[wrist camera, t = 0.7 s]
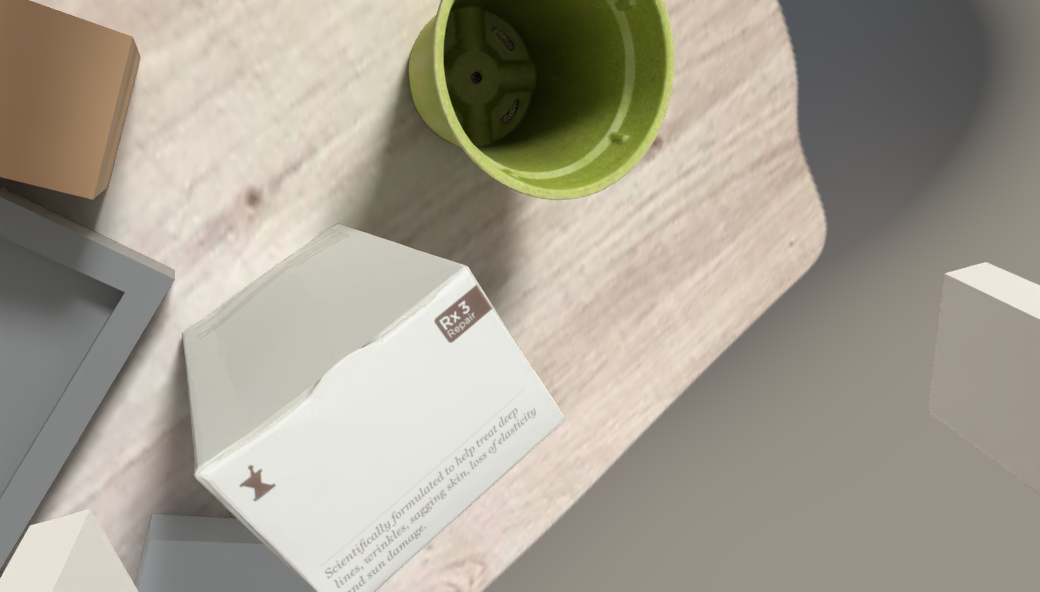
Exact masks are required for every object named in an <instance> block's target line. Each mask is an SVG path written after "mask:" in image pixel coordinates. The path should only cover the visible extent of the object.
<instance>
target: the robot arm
mask: <svg viewBox="0 0 1040 592" xmlns="http://www.w3.org/2000/svg"><path fill="white" fill-rule="evenodd" d="M928 413H930V414H931V415H932V416H934V417H935V418H936V419H938V420H939V421H941V422H942V423H943V424H945V425H946V426H947V427H949V428H950V429H951V430H953V431H954V432H956V433H957V434H958V435H960V436H961V437H962V438H964V439H965V440H967V441H968V442H969V443H971V444H972V445H973V446H975V447H976V448H977V449H979V450H980V451H982V452H983V453H984V454H986V455H987V456H988V457H990V458H991V459H993V460H994V461H995V462H997V463H998V464H999V465H1001V466H1002V467H1004V468H1005V469H1006V470H1008V471H1009V472H1010V473H1012V474H1013V475H1014V476H1016V477H1017V478H1019V479H1020V480H1021V481H1023V482H1024V483H1026V484H1027V485H1028V486H1029V487H1031V488H1032V489H1034V490H1035V491H1036V492H1038V493H1039V494H1040V285H1037V284H1035V283H1033V282H1030V281H1028V280H1026V279H1023V278H1021V277H1019V276H1016V275H1014V274H1012V273H1010V272H1007V271H1005V270H1003V269H1000V268H998V267H996V266H993V265H991V264H989V263H987V262H985V263H981V264H978V265H974V266H970V267H967V268H963V269H959V270H956V271H952V272H949V273H945V276H944V284H943V292H942V300H941V308H940V317H939V324H938V333H937V341H936V349H935V357H934V365H933V373H932V382H931V389H930V398H929V406H928ZM0 592H138V590H137V588H136V587H135V585H134V583H133V581H132V580H131V578H130V576H129V574H128V573H127V571H126V569H125V568H124V566H123V564H122V562H121V561H120V559H119V557H118V556H117V554H116V552H115V550H114V549H113V547H112V545H111V543H110V542H109V540H108V538H107V537H106V535H105V533H104V531H103V530H102V528H101V526H100V524H99V523H98V521H97V519H96V518H95V516H94V514H93V512H92V511H91V509H88V510H84V511H81V512H77V513H74V514H70V515H66V516H63V517H59V518H55V519H52V520H48V521H45V522H41V523H37V524H34V525H30V526H29V528H28V530H27V532H26V533H25V535H24V537H23V539H22V541H21V542H20V544H19V546H18V548H17V549H16V551H15V553H14V555H13V557H12V558H11V560H10V562H9V564H8V565H7V567H6V569H5V571H4V573H3V574H2V576H1V578H0Z"/></svg>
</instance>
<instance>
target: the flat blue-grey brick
mask: <svg viewBox="0 0 1040 592" xmlns="http://www.w3.org/2000/svg"><path fill="white" fill-rule="evenodd" d="M134 585H135V587H136V588H137V590H138V592H315V591H314V590H313V589H312V588H311V587H310V586H308V585H307V584H306V583H305V582H304V581H303V580H302V579H301V578H300V577H299V576H298V575H297V574H296V573H294V572H293V571H292V570H291V569H290V568H289V567H288V566H287V565H286V564H285V563H284V562H283V561H282V560H281V559H279V558H278V557H277V556H276V555H275V554H274V553H273V552H272V551H271V550H270V549H269V548H268V547H267V546H266V545H265V544H264V543H263V542H261V541H260V540H259V539H258V538H257V537H256V536H255V535H254V534H253V533H252V532H251V531H250V530H249V529H248V528H247V527H246V526H244V525H243V524H242V523H241V522H240V521H239V520H238V519H237V518H223V517H204V516H184V515H165V514H152V515H151V519H150V523H149V527H148V531H147V535H146V539H145V543H144V547H143V551H142V555H141V559H140V563H139V567H138V571H137V575H136V579H135V583H134Z"/></svg>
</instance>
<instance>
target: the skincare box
mask: <svg viewBox="0 0 1040 592" xmlns="http://www.w3.org/2000/svg"><path fill="white" fill-rule="evenodd" d="M182 340H183V348H184V357H185V366H186V376H187V385H188V395H189V408H190V416H191V426H192V436H193V446H194V460H195V467H194V477H195V478H196V480H197V481H198V482H199V483H200V484H202V485H203V486H204V487H205V488H206V489H207V490H208V491H209V492H210V493H211V494H212V495H214V496H215V497H216V498H217V499H218V500H219V501H220V502H221V503H222V504H223V505H224V506H225V507H226V508H227V509H228V510H229V511H230V512H231V513H232V514H233V515H234V516H235V517H236V518H237V519H238V520H239V521H240V522H241V523H242V524H243V525H244V526H246V527H247V528H248V529H249V530H250V531H251V532H252V533H253V534H254V535H255V536H256V537H257V538H258V539H259V540H260V541H261V542H263V543H264V544H265V545H266V546H267V547H268V548H269V549H270V550H271V551H272V552H273V553H274V554H275V555H276V556H277V557H278V558H279V559H281V560H282V561H283V562H284V563H285V564H286V565H287V566H288V567H289V568H290V569H291V570H292V571H293V572H294V573H296V574H297V575H298V576H299V577H300V578H301V579H302V580H303V581H304V582H305V583H306V584H307V585H308V586H310V587H311V588H312V589H313V590H314V591H315V592H375V591H376V590H377V589H379V588H380V587H381V586H382V585H383V584H384V583H385V582H386V581H387V580H388V579H390V578H391V577H392V576H393V575H394V574H395V573H396V572H397V571H398V570H399V569H400V568H402V567H403V566H404V565H405V564H406V563H407V562H408V561H409V560H410V559H411V558H413V557H414V556H415V555H416V554H417V553H418V552H419V551H420V550H422V549H423V548H424V547H425V546H426V545H427V544H428V543H429V542H430V541H432V540H433V539H434V538H435V537H436V536H437V535H438V534H439V533H440V532H441V531H442V530H444V529H445V528H446V527H447V526H448V525H449V524H450V523H452V522H453V521H454V520H455V519H456V518H457V517H458V516H459V515H461V514H462V513H463V512H464V511H465V510H466V509H467V508H468V507H469V506H471V505H472V504H473V503H474V502H475V501H476V500H477V499H478V498H479V497H481V496H482V495H483V494H484V493H485V492H486V491H487V490H488V489H489V488H491V487H492V486H493V485H494V484H495V483H496V482H497V481H498V480H499V479H500V478H502V477H503V476H504V475H505V474H506V473H507V472H508V471H509V470H510V469H512V468H513V467H514V466H515V465H516V464H517V463H518V462H519V461H520V460H522V459H523V458H524V457H525V456H526V455H527V454H528V453H529V452H530V451H532V450H533V449H534V448H535V447H536V446H537V445H538V444H539V443H540V442H542V441H543V440H544V439H545V438H546V437H547V436H548V435H549V434H551V433H552V432H553V431H554V430H555V429H556V428H557V427H558V426H559V425H561V424H562V423H563V422H564V421H565V417H564V415H563V414H562V412H561V411H560V409H559V408H558V406H557V404H556V403H555V401H554V400H553V398H552V397H551V395H550V394H549V392H548V391H547V389H546V388H545V386H544V385H543V383H542V381H541V380H540V378H539V377H538V376H537V374H536V373H535V371H534V370H533V368H532V367H531V365H530V364H529V362H528V360H527V359H526V357H525V356H524V354H523V353H522V351H521V349H520V348H519V346H518V345H517V343H516V342H515V340H514V339H513V337H512V335H511V334H510V332H509V331H508V329H507V328H506V326H505V324H504V323H503V321H502V320H501V318H500V316H499V315H498V313H497V312H496V310H495V309H494V307H493V305H492V304H491V302H490V301H489V299H488V297H487V296H486V294H485V293H484V291H483V290H482V288H481V286H480V285H479V283H478V282H477V280H476V278H475V277H474V275H473V274H472V272H471V270H470V269H469V267H467V266H466V265H463V264H460V263H456V262H453V261H450V260H447V259H444V258H441V257H438V256H435V255H432V254H428V253H425V252H422V251H419V250H416V249H413V248H410V247H407V246H404V245H402V244H399V243H396V242H393V241H390V240H387V239H384V238H380V237H377V236H374V235H371V234H369V233H365V232H363V231H359V230H356V229H353V228H350V227H347V226H344V225H342V224H339V223H338V224H336V225H335V226H333V227H331V228H329V229H328V230H326V231H325V232H323V233H322V234H321V235H319V236H318V237H316V238H315V239H313V240H312V241H310V242H309V243H308V244H306V245H305V246H303V247H302V248H300V249H299V250H298V251H296V252H295V253H293V254H292V255H290V256H289V257H287V258H286V259H284V260H283V261H282V262H280V263H279V264H277V265H276V266H274V267H273V268H272V269H270V270H269V271H268V272H266V273H265V274H263V275H262V276H261V277H259V278H258V279H256V280H255V281H253V282H252V283H250V284H249V285H248V286H246V287H245V288H243V289H242V290H241V291H239V292H238V293H236V294H235V295H234V296H232V297H231V298H230V299H229V300H227V301H226V302H225V303H223V304H222V305H221V306H220V307H219V308H217V309H216V310H215V311H214V312H212V313H211V314H210V315H208V316H207V317H205V318H204V319H202V320H201V321H199V322H198V323H196V324H194V325H193V326H191V327H190V328H188V329H187V330H185V331H184V332H183V333H182Z"/></svg>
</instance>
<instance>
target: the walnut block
mask: <svg viewBox="0 0 1040 592" xmlns="http://www.w3.org/2000/svg"><path fill="white" fill-rule="evenodd" d="M139 61H140V54H139V52H138V49H137V46H136V44H135V41H134V39H133V37H132V36H129V35H126V34H123V33H120V32H117V31H115V30H112V29H109V28H106V27H103V26H100V25H97V24H95V23H92V22H89V21H86V20H83V19H80V18H78V17H75V16H72V15H69V14H66V13H63V12H61V11H58V10H55V9H52V8H49V7H46V6H43V5H41V4H38V3H35V2H32V1H29V0H0V177H2V178H6V179H10V180H14V181H19V182H23V183H27V184H31V185H35V186H39V187H43V188H47V189H51V190H55V191H59V192H63V193H67V194H71V195H75V196H80V197H84V198H88V199H92V200H93V199H94V198H96V197H97V196H98V195H99V194H100V193H102V192H103V191H104V190H105V189H106V188H108V186H109V182H110V178H111V174H112V170H113V166H114V162H115V158H116V154H117V150H118V146H119V142H120V138H121V134H122V130H123V126H124V122H125V117H126V113H127V109H128V105H129V101H130V97H131V93H132V89H133V85H134V81H135V77H136V73H137V69H138V65H139Z"/></svg>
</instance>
